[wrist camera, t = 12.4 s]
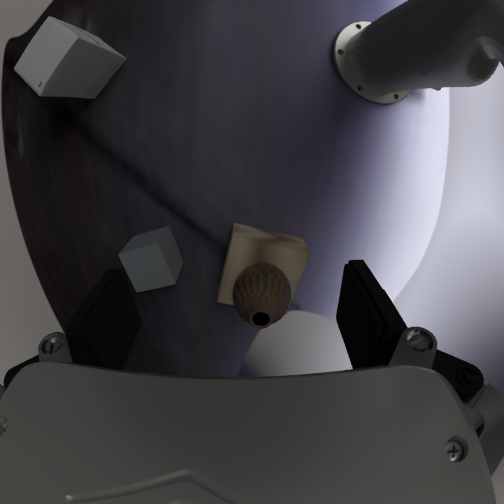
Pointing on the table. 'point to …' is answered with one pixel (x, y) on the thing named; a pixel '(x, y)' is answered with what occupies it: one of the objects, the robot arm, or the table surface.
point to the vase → (261, 294)
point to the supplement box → (67, 61)
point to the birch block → (261, 257)
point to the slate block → (152, 259)
